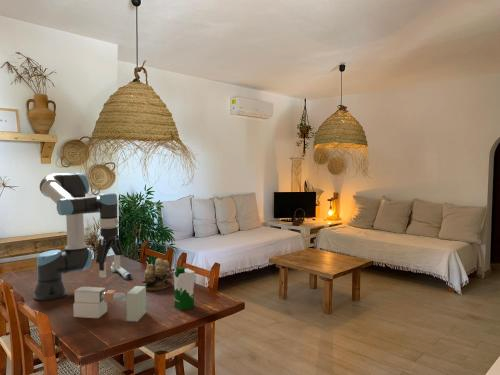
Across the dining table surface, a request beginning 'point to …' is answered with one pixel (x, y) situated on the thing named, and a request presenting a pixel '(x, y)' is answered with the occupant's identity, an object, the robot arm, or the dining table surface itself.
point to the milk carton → (184, 288)
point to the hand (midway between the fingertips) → (110, 272)
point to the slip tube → (112, 296)
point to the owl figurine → (157, 276)
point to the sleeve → (89, 302)
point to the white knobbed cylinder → (121, 272)
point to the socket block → (136, 303)
